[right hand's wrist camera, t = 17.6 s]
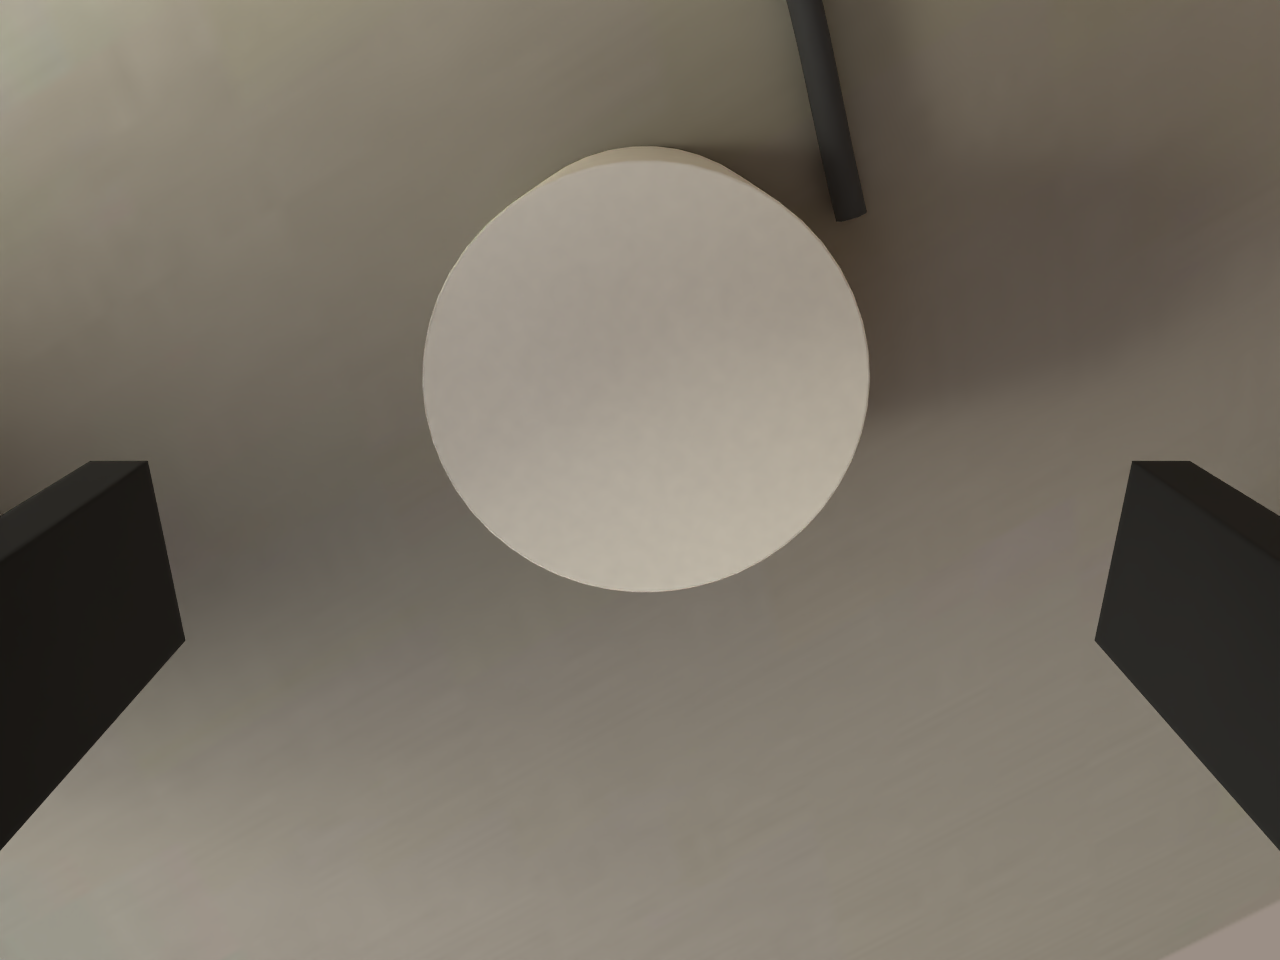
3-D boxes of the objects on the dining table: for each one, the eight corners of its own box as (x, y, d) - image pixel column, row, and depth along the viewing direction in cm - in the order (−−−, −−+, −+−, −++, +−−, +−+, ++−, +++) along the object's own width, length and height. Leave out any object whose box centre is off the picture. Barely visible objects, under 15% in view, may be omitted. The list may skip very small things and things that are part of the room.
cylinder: (592, 72, 23) (571, 56, 16) (875, 270, 24) (964, 331, 18) (423, 366, 25) (344, 458, 19) (688, 524, 27) (703, 660, 21)
